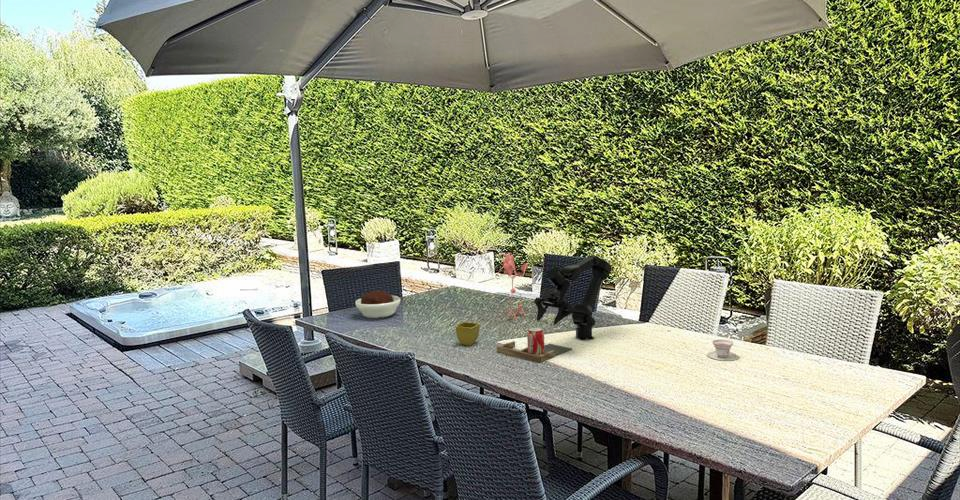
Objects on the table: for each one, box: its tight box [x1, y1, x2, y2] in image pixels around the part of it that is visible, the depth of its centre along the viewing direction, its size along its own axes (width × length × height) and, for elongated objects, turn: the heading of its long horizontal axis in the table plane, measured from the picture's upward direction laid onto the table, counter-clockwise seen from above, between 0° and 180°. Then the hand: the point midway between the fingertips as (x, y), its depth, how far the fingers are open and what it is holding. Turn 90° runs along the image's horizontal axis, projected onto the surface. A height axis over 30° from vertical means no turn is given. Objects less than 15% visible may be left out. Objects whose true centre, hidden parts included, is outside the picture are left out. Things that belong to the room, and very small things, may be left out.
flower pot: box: [454, 321, 481, 346], centre depth 272 cm, size 9×9×9 cm
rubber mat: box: [544, 343, 573, 357], centre depth 257 cm, size 12×12×1 cm
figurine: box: [494, 252, 532, 321], centre depth 317 cm, size 15×26×35 cm, turn 146°
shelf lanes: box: [496, 340, 556, 364], centre depth 253 cm, size 11×24×2 cm, turn 45°
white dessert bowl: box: [355, 290, 401, 319], centre depth 332 cm, size 25×25×15 cm
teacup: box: [706, 339, 739, 362], centre depth 240 cm, size 12×12×6 cm
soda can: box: [526, 326, 545, 356], centre depth 249 cm, size 7×7×12 cm
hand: (545, 322), depth 254 cm, fingers open, 9 cm apart
